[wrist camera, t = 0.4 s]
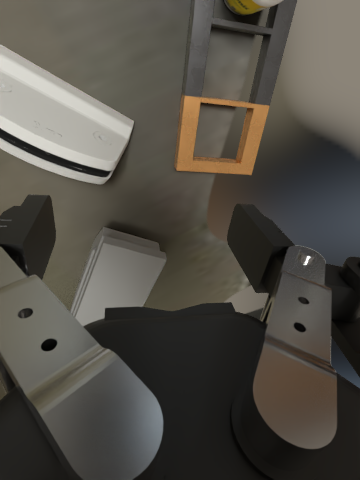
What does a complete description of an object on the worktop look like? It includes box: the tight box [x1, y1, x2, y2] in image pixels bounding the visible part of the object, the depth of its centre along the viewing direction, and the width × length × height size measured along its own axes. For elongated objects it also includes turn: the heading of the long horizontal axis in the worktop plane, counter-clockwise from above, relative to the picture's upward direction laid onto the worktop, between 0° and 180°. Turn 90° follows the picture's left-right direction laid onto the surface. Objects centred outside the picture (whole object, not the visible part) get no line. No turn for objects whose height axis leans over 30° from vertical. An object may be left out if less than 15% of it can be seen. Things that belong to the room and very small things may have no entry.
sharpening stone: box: [70, 227, 167, 326], centre depth 42 cm, size 25×8×11 cm, turn 154°
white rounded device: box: [0, 45, 134, 184], centre depth 29 cm, size 17×5×10 cm, turn 59°
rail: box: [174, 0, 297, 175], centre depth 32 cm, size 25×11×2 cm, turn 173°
